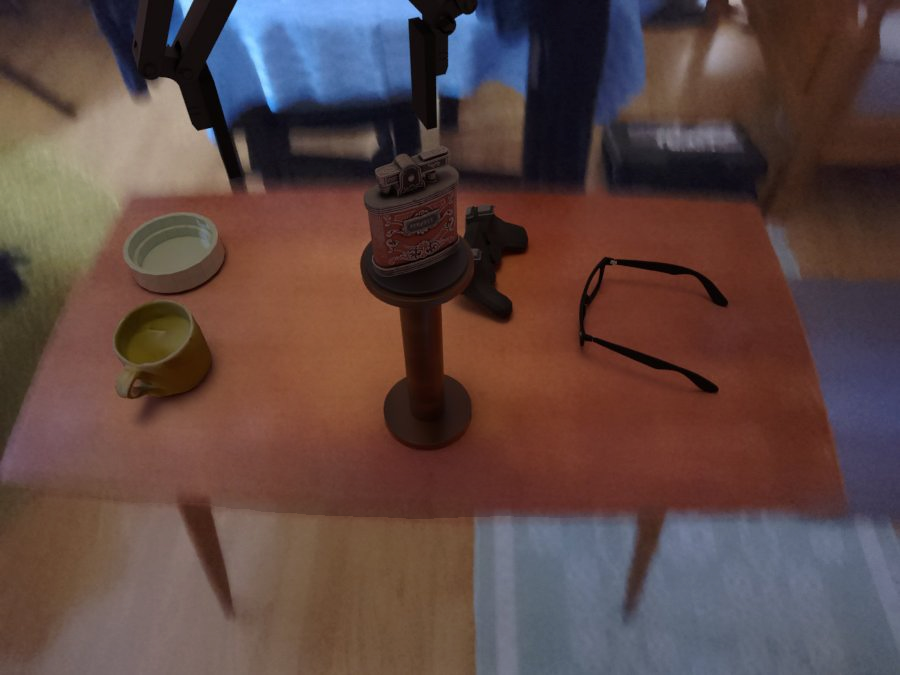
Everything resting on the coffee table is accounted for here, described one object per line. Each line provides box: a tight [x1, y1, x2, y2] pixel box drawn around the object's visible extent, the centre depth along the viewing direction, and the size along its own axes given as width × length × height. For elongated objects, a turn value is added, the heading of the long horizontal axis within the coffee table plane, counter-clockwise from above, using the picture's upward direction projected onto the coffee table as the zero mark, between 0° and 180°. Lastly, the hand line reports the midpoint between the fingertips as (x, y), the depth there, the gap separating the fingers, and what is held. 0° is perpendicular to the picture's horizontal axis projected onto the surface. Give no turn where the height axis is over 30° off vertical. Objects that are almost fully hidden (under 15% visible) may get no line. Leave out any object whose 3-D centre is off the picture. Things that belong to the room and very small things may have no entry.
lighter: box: [363, 145, 460, 277], centre depth 56 cm, size 8×3×10 cm, turn 118°
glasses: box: [578, 256, 729, 394], centre depth 84 cm, size 17×18×5 cm
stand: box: [359, 233, 474, 451], centre depth 69 cm, size 10×10×24 cm
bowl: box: [122, 211, 226, 294], centre depth 93 cm, size 12×12×4 cm
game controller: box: [459, 204, 529, 320], centre depth 90 cm, size 16×7×10 cm, turn 167°
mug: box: [111, 298, 212, 400], centre depth 79 cm, size 12×10×10 cm
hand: (331, 142), depth 46 cm, fingers open, 13 cm apart
